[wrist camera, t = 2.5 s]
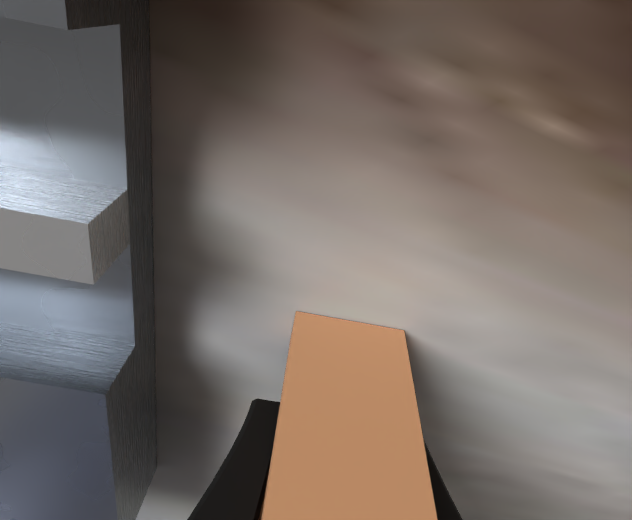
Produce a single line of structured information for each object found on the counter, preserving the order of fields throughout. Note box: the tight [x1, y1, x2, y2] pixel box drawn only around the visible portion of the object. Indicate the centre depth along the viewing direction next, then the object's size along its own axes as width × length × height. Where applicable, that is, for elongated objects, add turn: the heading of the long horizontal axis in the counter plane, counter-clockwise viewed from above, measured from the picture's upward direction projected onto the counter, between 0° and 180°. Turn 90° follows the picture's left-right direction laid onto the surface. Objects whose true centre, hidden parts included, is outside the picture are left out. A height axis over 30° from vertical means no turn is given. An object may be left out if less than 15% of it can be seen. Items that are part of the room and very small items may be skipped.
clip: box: [259, 311, 437, 520], centre depth 10 cm, size 5×3×6 cm, turn 170°
